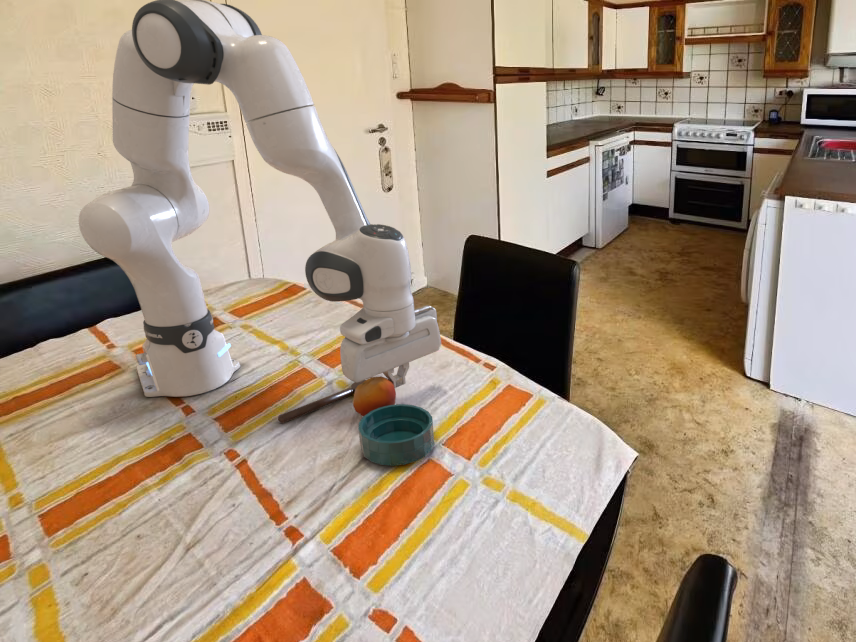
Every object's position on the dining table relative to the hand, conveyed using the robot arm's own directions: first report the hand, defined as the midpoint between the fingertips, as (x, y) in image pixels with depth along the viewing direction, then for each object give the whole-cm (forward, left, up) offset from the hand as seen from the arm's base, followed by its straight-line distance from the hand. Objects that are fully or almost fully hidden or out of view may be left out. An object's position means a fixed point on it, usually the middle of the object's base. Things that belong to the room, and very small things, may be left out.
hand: (397, 385), depth 118 cm
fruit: (0, -5, -4) cm, 6 cm away
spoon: (-9, -9, -4) cm, 13 cm away
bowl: (+12, -9, -4) cm, 16 cm away
